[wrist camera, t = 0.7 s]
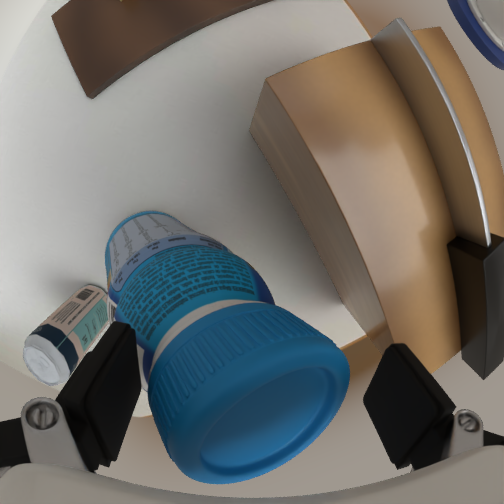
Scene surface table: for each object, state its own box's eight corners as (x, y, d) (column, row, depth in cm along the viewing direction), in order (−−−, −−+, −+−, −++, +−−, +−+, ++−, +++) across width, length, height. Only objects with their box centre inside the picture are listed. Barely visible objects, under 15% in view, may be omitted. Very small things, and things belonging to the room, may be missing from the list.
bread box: (354, 80, 22) (440, 26, 9) (427, 248, 27) (515, 295, 14) (248, 130, 23) (264, 78, 10) (343, 304, 28) (407, 390, 15)
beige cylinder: (72, 298, 26) (12, 354, 15) (94, 274, 26) (29, 331, 14) (99, 329, 28) (51, 396, 16) (123, 308, 27) (73, 379, 15)
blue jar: (138, 189, 22) (275, 250, 5) (209, 241, 26) (393, 354, 10) (86, 270, 21) (99, 491, 5) (160, 312, 26) (276, 490, 9)
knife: (480, 341, 14) (503, 360, 12) (461, 358, 15) (483, 380, 12) (387, 35, 9) (419, 12, 6) (355, 43, 9) (385, 16, 6)
